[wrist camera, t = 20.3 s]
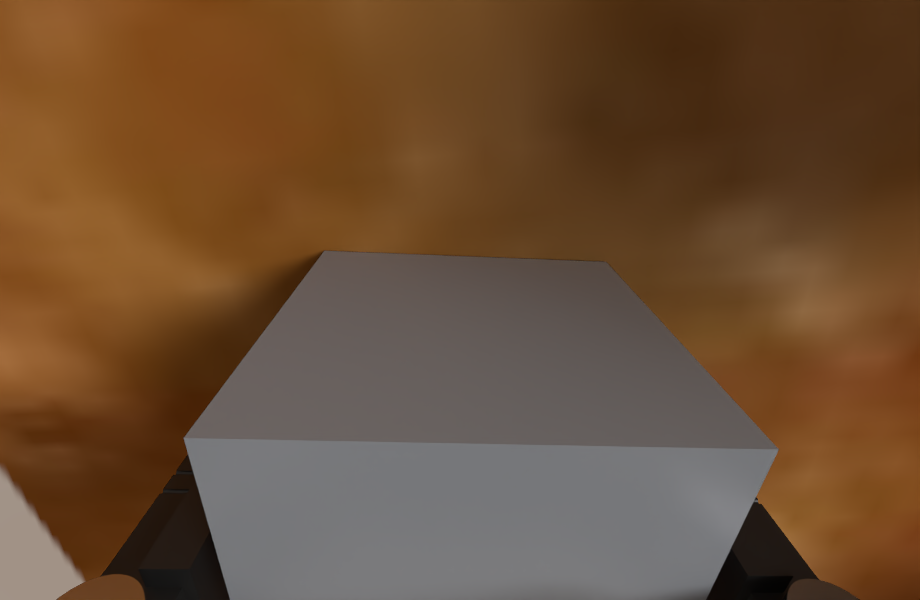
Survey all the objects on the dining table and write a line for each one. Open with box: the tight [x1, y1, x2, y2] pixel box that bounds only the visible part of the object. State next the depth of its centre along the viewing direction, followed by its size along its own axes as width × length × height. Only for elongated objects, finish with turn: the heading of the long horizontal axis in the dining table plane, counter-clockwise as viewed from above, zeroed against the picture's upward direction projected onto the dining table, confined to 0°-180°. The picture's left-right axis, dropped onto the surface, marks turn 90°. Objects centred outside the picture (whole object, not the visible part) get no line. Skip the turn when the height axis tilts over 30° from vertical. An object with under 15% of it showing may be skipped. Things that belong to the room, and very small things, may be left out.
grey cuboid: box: [184, 251, 779, 600], centre depth 9 cm, size 7×7×6 cm
